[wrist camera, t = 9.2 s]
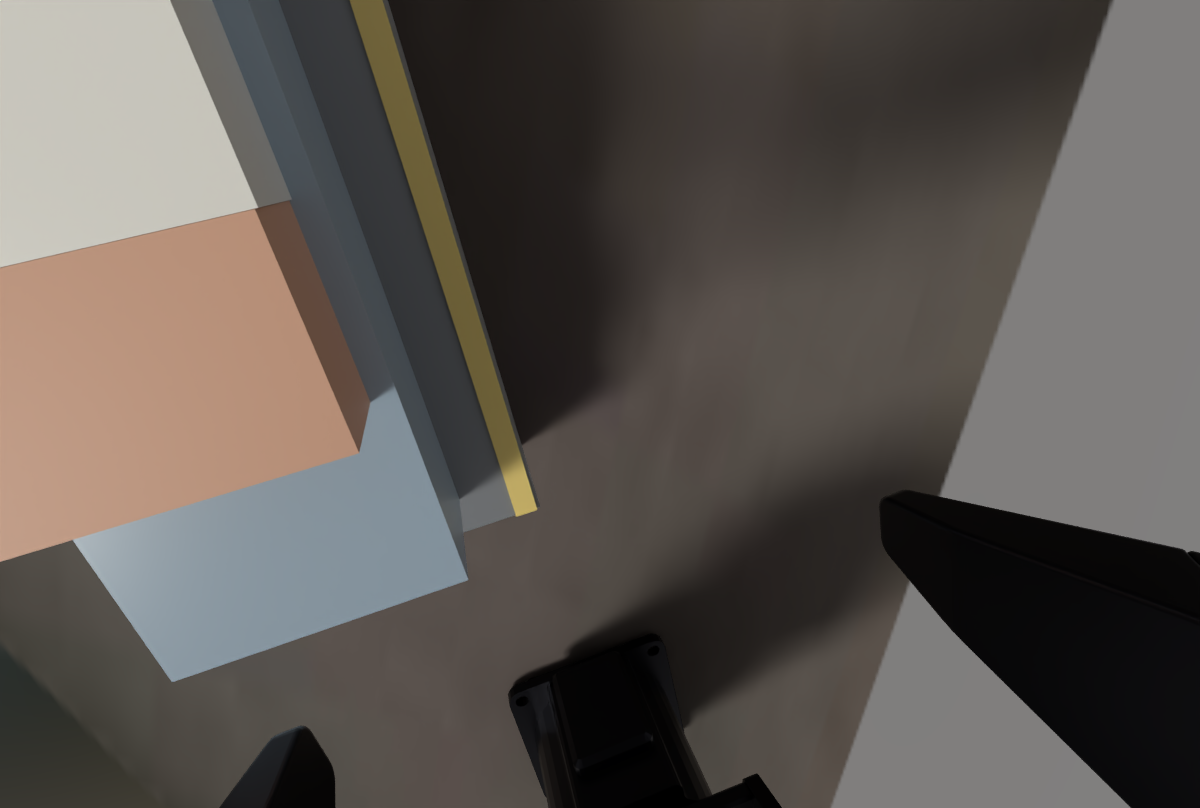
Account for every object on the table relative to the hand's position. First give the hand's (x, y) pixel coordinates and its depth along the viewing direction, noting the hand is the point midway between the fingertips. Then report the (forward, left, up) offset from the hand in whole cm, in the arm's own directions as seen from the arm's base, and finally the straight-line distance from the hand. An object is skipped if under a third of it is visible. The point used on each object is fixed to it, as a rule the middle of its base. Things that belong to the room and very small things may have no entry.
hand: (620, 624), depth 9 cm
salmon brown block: (+5, +5, -4) cm, 8 cm away
